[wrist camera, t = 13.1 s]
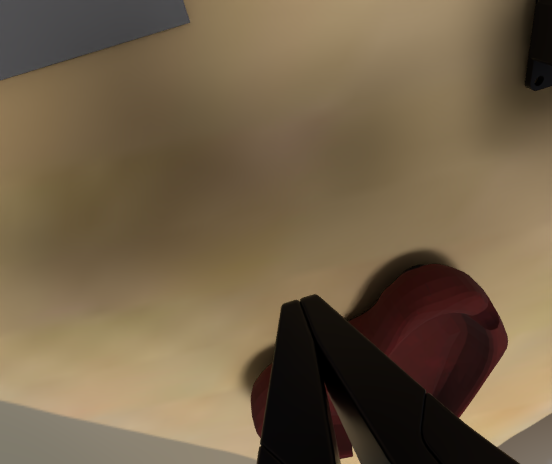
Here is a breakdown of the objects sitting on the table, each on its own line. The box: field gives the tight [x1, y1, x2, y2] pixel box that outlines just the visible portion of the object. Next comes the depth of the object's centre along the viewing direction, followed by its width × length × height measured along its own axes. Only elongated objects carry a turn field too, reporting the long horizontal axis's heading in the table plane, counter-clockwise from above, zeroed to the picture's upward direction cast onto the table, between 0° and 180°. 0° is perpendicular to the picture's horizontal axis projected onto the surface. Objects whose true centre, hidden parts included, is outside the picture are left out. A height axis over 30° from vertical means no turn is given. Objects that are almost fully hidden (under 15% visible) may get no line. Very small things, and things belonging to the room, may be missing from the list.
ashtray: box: [251, 264, 508, 459], centre depth 31 cm, size 18×16×5 cm
